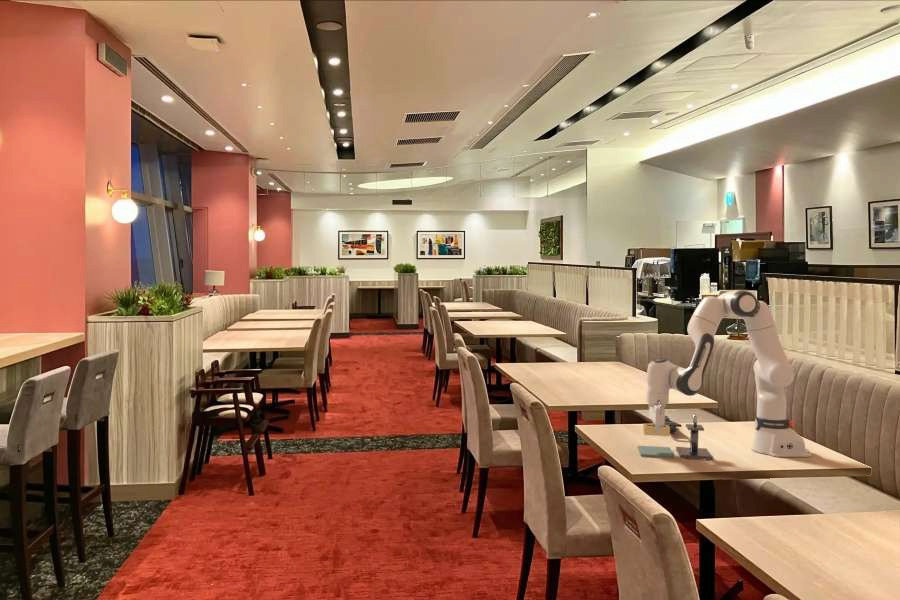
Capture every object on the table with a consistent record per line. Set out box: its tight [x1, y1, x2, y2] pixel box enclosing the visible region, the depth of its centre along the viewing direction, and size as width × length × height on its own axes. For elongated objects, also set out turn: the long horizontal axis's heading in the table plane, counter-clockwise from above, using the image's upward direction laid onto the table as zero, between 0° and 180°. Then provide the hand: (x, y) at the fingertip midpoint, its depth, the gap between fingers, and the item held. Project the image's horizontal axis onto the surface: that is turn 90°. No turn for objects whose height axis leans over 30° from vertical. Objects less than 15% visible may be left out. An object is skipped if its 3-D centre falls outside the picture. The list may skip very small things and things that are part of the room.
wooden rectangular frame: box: [642, 423, 671, 437], centre depth 280 cm, size 10×5×4 cm, turn 80°
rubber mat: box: [637, 445, 676, 459], centre depth 280 cm, size 13×13×1 cm
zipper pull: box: [664, 415, 682, 434], centre depth 315 cm, size 9×7×25 cm
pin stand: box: [675, 414, 713, 461], centre depth 277 cm, size 12×12×16 cm
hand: (656, 431), depth 280 cm, fingers closed on wooden rectangular frame, 5 cm apart
